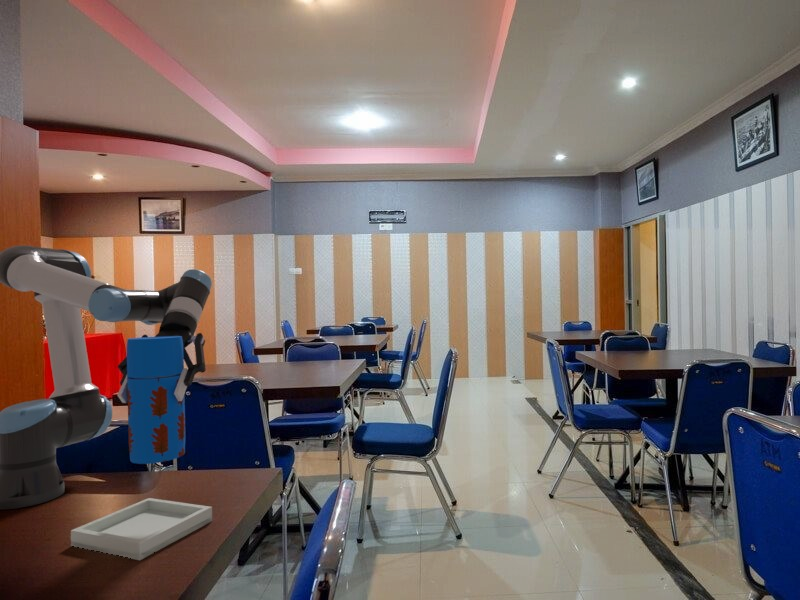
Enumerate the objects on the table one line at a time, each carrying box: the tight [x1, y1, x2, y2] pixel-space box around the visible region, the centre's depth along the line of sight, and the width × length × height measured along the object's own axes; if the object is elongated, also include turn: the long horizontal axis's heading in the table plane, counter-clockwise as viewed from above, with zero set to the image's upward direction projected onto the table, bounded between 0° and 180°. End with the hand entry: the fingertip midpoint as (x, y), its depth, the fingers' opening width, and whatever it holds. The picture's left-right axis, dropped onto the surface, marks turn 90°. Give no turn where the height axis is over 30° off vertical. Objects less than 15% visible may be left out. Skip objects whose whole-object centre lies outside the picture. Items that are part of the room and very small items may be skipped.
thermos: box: [126, 336, 186, 465], centre depth 106 cm, size 11×11×25 cm
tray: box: [70, 497, 213, 561], centre depth 102 cm, size 18×18×3 cm
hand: (149, 398), depth 103 cm, fingers closed on thermos, 11 cm apart
